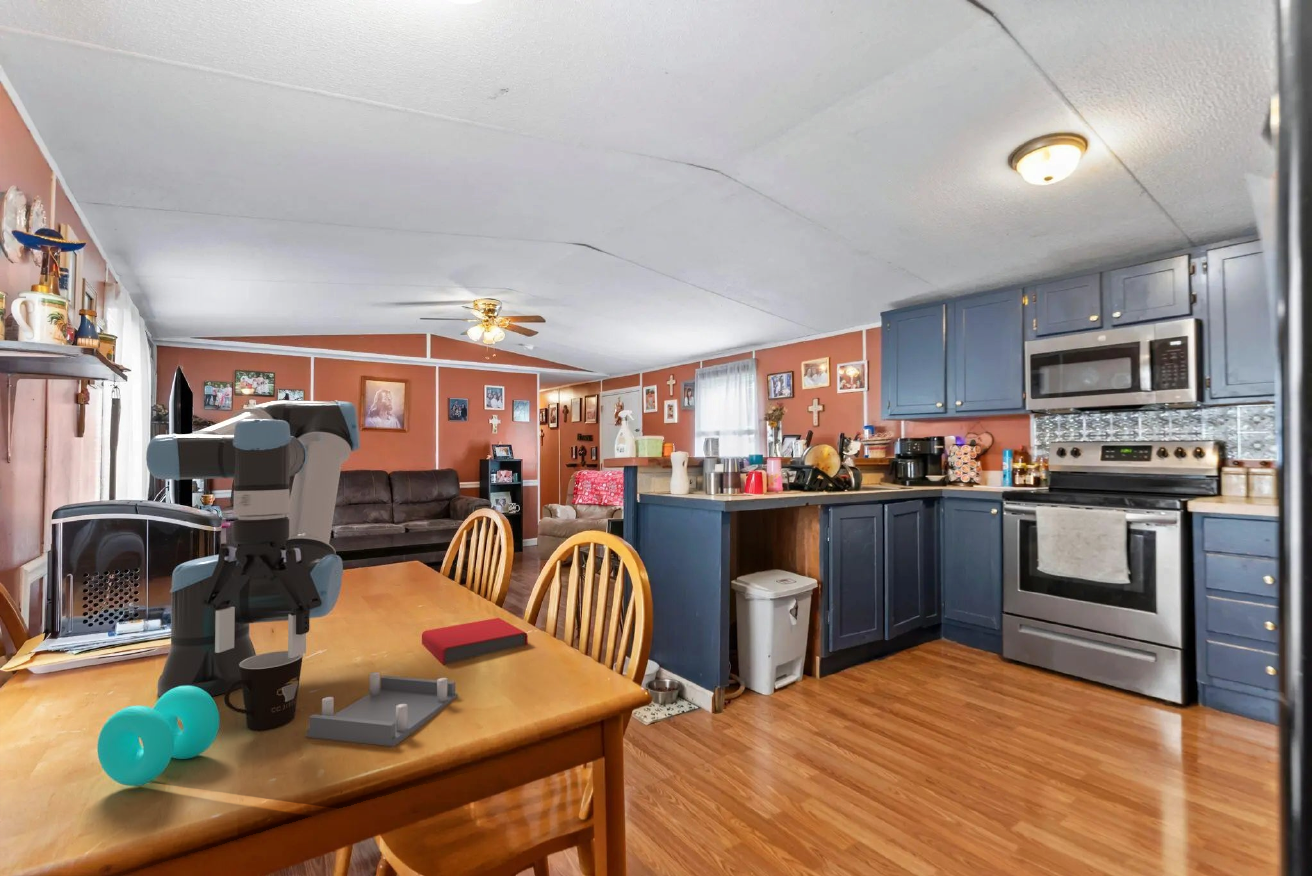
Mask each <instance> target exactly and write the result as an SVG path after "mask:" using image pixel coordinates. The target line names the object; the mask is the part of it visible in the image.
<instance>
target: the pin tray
mask: <svg viewBox="0 0 1312 876" xmlns="http://www.w3.org/2000/svg"><path fill="white" fill-rule="evenodd" d="M380 675H381V673H380V672H378V671H376V672H375V671H374V672H371V673H369V693H368V694H367V695H365V696H363V697H361V698H360V699H358V700H357V701H355V702H353V703H351V704H350V705H348V706H346V707H344V708H342V709H341V710H339V711H337V712H336V713H334V712H335V711H334V704H335V703H334V702H335V701H334V698H335V697H333V696H328V697H327V696H326V697H323V698H322V700H321V714H312V715H311V716H309V717H308V719H309V721H308V722H309V723H308V725H309V726H308V728H307V729H306V732H305V734H306V735H305V736H306V738H313V739H324V740H330V741H331V740H332V741H340V742H349V743H356V744H357V743H359V744H366V745H367V744H368V745H376V746H385V747H393V748H394V747H396V746H397V745H399V744H400V743H401V742H403V741H404V740H405V739H406V738H408V737H409V736H411V734H413V733H414V732H416V731H417V730H418V729H420V728H422V726H423V725H425V724H426V723H427V722H429V720H431V719H432V718H433V717H434V716H436V715H437V714H438V713H440V712H441V710H443V709H444V708H445V707H446V706H448V705H449V704H450V703H451V702H452V701H454V700H455V699H456V698H457V697H458V696H459V694H458V693H457V692H456V681H452V680H451V681H449V680H448V678H447V677H440V678H438V679H426V678H417V677H416V678H415V677H404V676H403V677H402V676H391V675H383V676H380ZM453 699H454V700H453Z"/></svg>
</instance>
